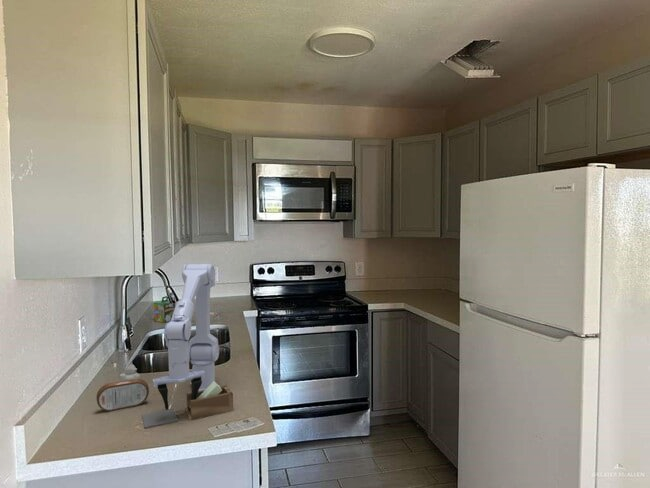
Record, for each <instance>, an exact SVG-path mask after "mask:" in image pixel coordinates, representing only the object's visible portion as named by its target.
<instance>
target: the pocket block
mask: <svg viewBox="0 0 650 488" xmlns="http://www.w3.org/2000/svg"><path fill="white" fill-rule="evenodd" d="M220 388H221V389H222V391H221V392H220V393H219V394H218V395H214V396H209V397H205V398H200V399H197V398H198V397H199V396H200V395H201V394H202V393H203V392H204V391H205V390H201V391H198V393H197V397H196V399H195V400H191V395H192V391H191V392H187V393H186V406H185V407H184V413H185V414H186V416H187V419H188V421H193V420H198V419H200V418H205V417H210V416H214V415H218V414H224V413H228V412H232V411H234V392H232V390H231V389H230V388H229V387H228V385H222V386H220Z"/></svg>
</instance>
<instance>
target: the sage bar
mask: <svg viewBox="0 0 650 488" xmlns="http://www.w3.org/2000/svg"><path fill="white" fill-rule="evenodd" d="M220 387H221V386H220V385H219V384H218V383H217V382H216V380H215V381H213V382H212V383H211V384H210V385H209V387H208V388H207V389H206V390H205V391H204V392H203V393H202V394H201V395H200V396H199V397H198V398H197V399H200V398H205V397H209V396H214V395H218V394H219V393H220V392H221V391H222V389H221V388H220Z"/></svg>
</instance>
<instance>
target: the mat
mask: <svg viewBox="0 0 650 488" xmlns="http://www.w3.org/2000/svg"><path fill="white" fill-rule="evenodd" d="M177 416H178V415H177V413H176V412H175V408H173V407H172V408H168V410H166V409H162V410H157V411H154V412H153V411H152V412H149V413H144V414H141V417H142V421H143V426H144V429H150V428H154V427H159V426H162V425H167V424H171V423H176V422H179V419H178V417H177Z"/></svg>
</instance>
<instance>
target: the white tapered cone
mask: <svg viewBox="0 0 650 488" xmlns="http://www.w3.org/2000/svg"><path fill="white" fill-rule="evenodd" d="M137 370H138V368H136V366H135V365H134V364H133V362H130V364H129V365H128V366H127V367H126V369H125V372H126V373H120V375H119V378H120V381H125V380H131V379H141V376H140V374H139V373H138V372H137Z"/></svg>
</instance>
